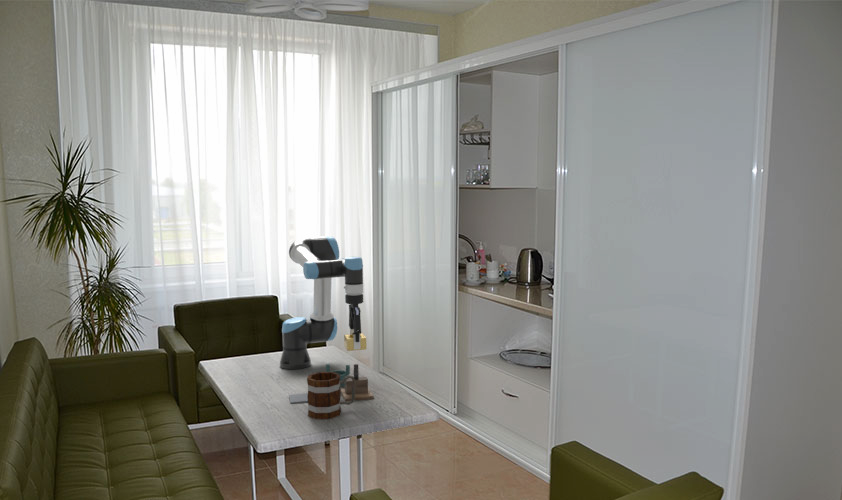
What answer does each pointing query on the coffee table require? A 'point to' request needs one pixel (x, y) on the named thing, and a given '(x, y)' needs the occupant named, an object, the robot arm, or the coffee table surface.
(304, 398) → the felt mat
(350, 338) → the hollow wooden square frame
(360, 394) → the post stand
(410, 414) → the coffee table surface
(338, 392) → the mug
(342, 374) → the bracket
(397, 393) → the coffee table surface
